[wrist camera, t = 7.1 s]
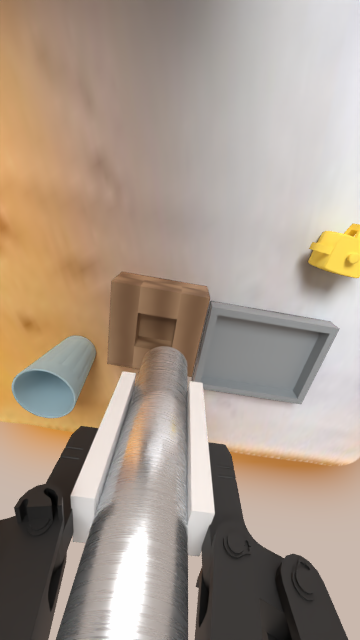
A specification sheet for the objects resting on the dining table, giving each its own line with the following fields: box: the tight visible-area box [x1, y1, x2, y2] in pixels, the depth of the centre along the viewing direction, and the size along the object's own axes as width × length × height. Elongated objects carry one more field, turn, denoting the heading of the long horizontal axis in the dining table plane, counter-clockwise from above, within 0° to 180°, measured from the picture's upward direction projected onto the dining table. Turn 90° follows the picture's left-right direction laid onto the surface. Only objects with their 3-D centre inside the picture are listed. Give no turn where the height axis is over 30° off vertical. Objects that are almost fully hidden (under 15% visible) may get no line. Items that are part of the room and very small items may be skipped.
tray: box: [192, 301, 339, 404], centre depth 36 cm, size 18×14×2 cm
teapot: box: [308, 224, 360, 278], centre depth 28 cm, size 8×6×5 cm
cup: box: [12, 336, 96, 418], centre depth 33 cm, size 8×8×10 cm
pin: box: [56, 346, 188, 640], centre depth 10 cm, size 3×3×14 cm
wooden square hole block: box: [107, 272, 210, 377], centre depth 33 cm, size 12×12×5 cm
